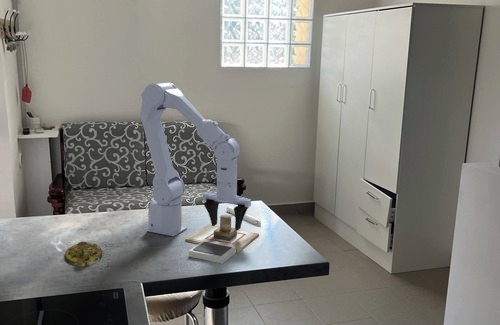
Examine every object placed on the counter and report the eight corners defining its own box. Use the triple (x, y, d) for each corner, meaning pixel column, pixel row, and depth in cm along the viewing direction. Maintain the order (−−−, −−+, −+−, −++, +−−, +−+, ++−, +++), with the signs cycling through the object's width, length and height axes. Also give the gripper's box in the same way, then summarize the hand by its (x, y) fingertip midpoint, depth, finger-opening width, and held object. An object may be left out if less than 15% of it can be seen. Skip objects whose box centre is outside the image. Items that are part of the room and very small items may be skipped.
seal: (63, 252, 133) (69, 273, 120) (60, 236, 132) (65, 256, 119) (98, 243, 137) (107, 263, 124) (95, 228, 136) (104, 246, 123)
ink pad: (188, 256, 129) (188, 249, 129) (203, 246, 137) (203, 240, 136) (222, 263, 125) (222, 256, 125) (235, 252, 133) (235, 246, 132)
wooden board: (185, 240, 140) (185, 238, 140) (208, 226, 152) (208, 223, 152) (238, 251, 133) (239, 249, 133) (258, 235, 146) (258, 233, 146)
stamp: (213, 238, 141) (213, 217, 140) (221, 232, 145) (221, 212, 144) (229, 241, 139) (229, 220, 138) (236, 235, 143) (237, 215, 142)
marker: (263, 226, 155) (263, 219, 154) (258, 227, 154) (258, 220, 153) (231, 211, 169) (231, 204, 168) (226, 212, 168) (226, 205, 167)
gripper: (197, 181, 138) (197, 227, 141) (244, 188, 132) (243, 235, 135) (209, 176, 144) (209, 220, 147) (254, 182, 139) (253, 227, 142)
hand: (226, 227), depth 142 cm, fingers open, 7 cm apart
